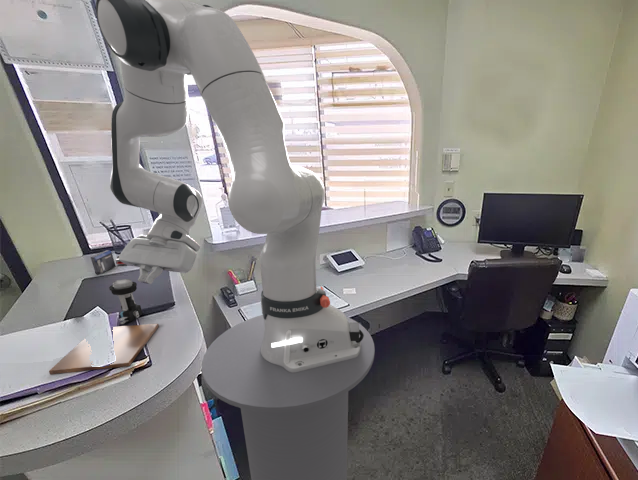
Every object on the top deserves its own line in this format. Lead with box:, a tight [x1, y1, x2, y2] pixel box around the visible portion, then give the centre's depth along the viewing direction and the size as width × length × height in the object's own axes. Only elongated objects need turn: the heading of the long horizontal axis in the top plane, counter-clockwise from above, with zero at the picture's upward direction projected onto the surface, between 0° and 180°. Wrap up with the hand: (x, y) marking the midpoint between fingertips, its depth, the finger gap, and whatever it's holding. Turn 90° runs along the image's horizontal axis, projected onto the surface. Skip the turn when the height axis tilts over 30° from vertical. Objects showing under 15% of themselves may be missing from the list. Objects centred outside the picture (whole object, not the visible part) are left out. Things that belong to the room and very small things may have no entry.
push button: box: [108, 278, 143, 325], centre depth 77 cm, size 7×5×10 cm
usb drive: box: [114, 255, 125, 265], centre depth 119 cm, size 5×12×3 cm, turn 11°
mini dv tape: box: [90, 249, 116, 275], centre depth 107 cm, size 8×2×6 cm, turn 9°
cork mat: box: [48, 323, 160, 375], centre depth 67 cm, size 13×16×1 cm
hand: (144, 282), depth 81 cm, fingers closed
